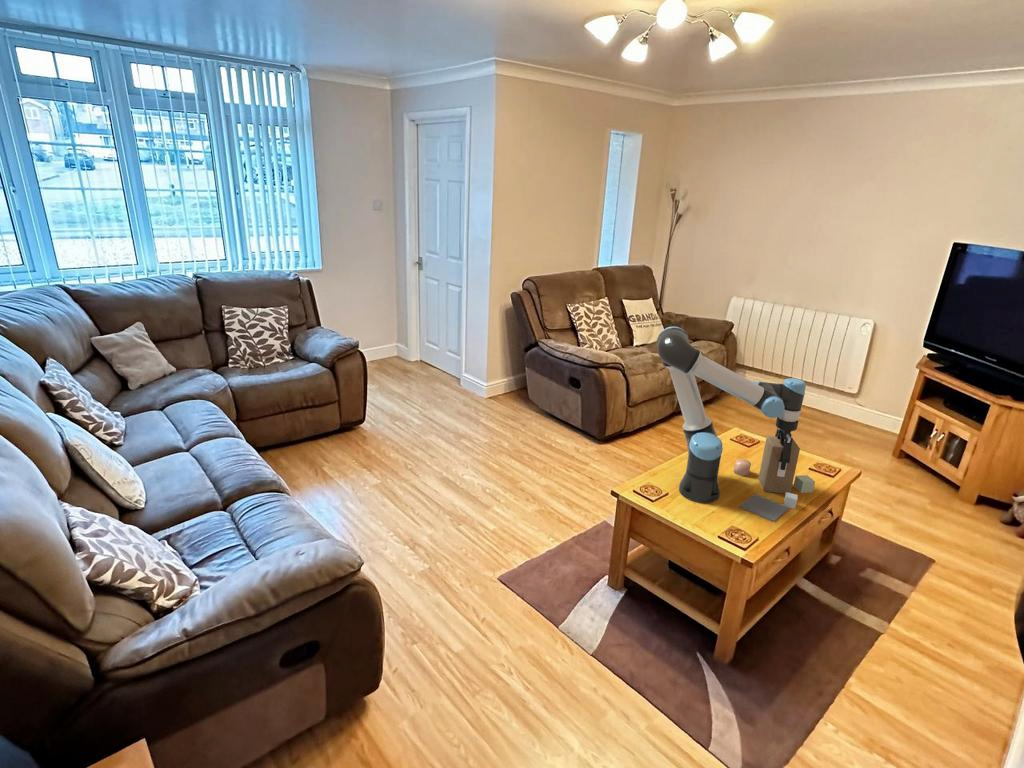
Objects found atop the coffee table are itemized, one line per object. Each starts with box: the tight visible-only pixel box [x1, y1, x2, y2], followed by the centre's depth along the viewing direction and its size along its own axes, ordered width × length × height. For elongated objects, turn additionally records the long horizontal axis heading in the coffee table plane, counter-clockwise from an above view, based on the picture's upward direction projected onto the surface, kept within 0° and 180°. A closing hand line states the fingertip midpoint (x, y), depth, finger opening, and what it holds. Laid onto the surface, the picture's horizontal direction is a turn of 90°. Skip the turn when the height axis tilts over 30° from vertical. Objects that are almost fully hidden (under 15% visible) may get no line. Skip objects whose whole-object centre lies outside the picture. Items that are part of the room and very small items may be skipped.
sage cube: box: [792, 474, 816, 494], centre depth 216 cm, size 5×5×5 cm
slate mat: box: [738, 493, 790, 523], centre depth 203 cm, size 13×13×1 cm
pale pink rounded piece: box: [733, 458, 752, 477], centre depth 228 cm, size 6×6×5 cm
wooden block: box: [758, 435, 801, 495], centre depth 215 cm, size 10×10×20 cm
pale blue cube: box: [783, 492, 798, 510], centre depth 205 cm, size 4×4×4 cm
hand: (777, 469), depth 216 cm, fingers closed on wooden block, 10 cm apart
